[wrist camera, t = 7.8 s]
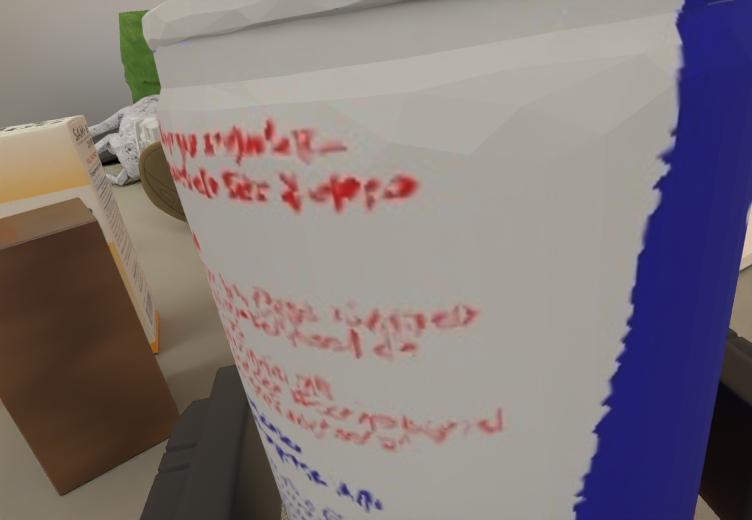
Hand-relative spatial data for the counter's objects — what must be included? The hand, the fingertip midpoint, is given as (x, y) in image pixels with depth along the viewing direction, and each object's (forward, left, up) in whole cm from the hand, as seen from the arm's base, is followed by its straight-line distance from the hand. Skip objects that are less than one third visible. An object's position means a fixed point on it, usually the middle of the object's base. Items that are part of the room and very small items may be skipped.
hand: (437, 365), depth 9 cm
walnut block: (-6, +16, -9) cm, 19 cm away
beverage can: (-1, -2, -9) cm, 9 cm away
